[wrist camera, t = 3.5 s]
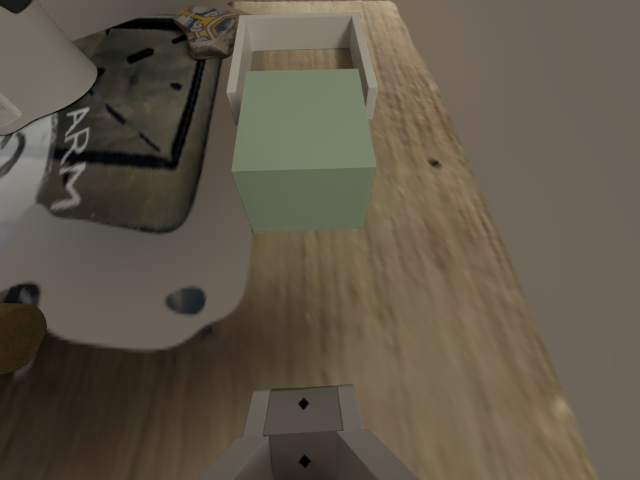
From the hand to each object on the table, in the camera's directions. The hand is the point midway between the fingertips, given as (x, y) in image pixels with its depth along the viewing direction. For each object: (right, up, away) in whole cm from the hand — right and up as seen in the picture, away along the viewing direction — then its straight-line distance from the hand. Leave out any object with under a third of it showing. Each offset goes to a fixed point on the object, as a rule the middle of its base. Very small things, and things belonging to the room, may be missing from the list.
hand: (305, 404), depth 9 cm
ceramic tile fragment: (-15, +35, +36) cm, 52 cm away
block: (-1, +11, +21) cm, 24 cm away
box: (-2, +26, +30) cm, 40 cm away
